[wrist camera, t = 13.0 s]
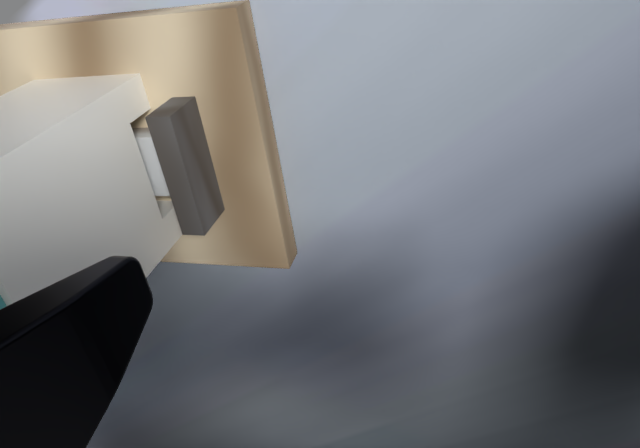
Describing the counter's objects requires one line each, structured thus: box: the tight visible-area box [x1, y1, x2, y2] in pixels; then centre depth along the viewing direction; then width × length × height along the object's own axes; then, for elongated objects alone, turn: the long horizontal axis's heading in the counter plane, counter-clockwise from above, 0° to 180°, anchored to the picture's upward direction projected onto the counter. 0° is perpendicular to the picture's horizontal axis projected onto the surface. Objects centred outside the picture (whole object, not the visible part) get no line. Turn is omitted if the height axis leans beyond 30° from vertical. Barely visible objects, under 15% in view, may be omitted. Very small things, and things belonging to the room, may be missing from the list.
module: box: [0, 73, 182, 309], centre depth 20 cm, size 5×7×9 cm
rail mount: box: [0, 0, 297, 269], centre depth 23 cm, size 14×11×3 cm
